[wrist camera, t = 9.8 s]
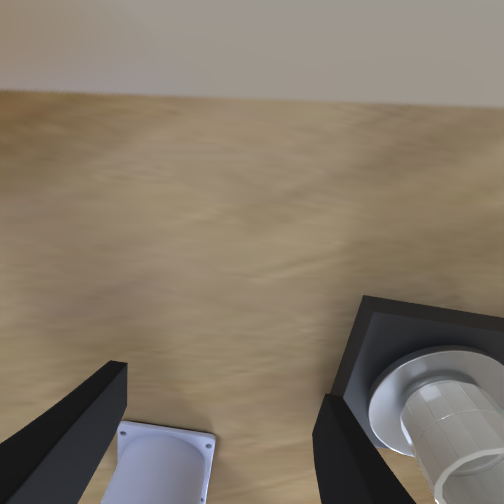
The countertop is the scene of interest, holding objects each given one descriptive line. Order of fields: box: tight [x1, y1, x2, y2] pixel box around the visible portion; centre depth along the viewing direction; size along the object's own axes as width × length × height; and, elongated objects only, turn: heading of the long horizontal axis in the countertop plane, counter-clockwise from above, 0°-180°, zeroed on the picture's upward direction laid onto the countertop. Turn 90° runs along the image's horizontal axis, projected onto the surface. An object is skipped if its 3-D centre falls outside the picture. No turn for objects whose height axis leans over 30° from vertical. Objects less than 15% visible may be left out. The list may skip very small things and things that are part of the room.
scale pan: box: [366, 345, 504, 457], centre depth 19 cm, size 9×9×1 cm
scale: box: [330, 295, 504, 449], centre depth 20 cm, size 11×13×2 cm
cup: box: [400, 380, 504, 504], centre depth 17 cm, size 5×5×4 cm
